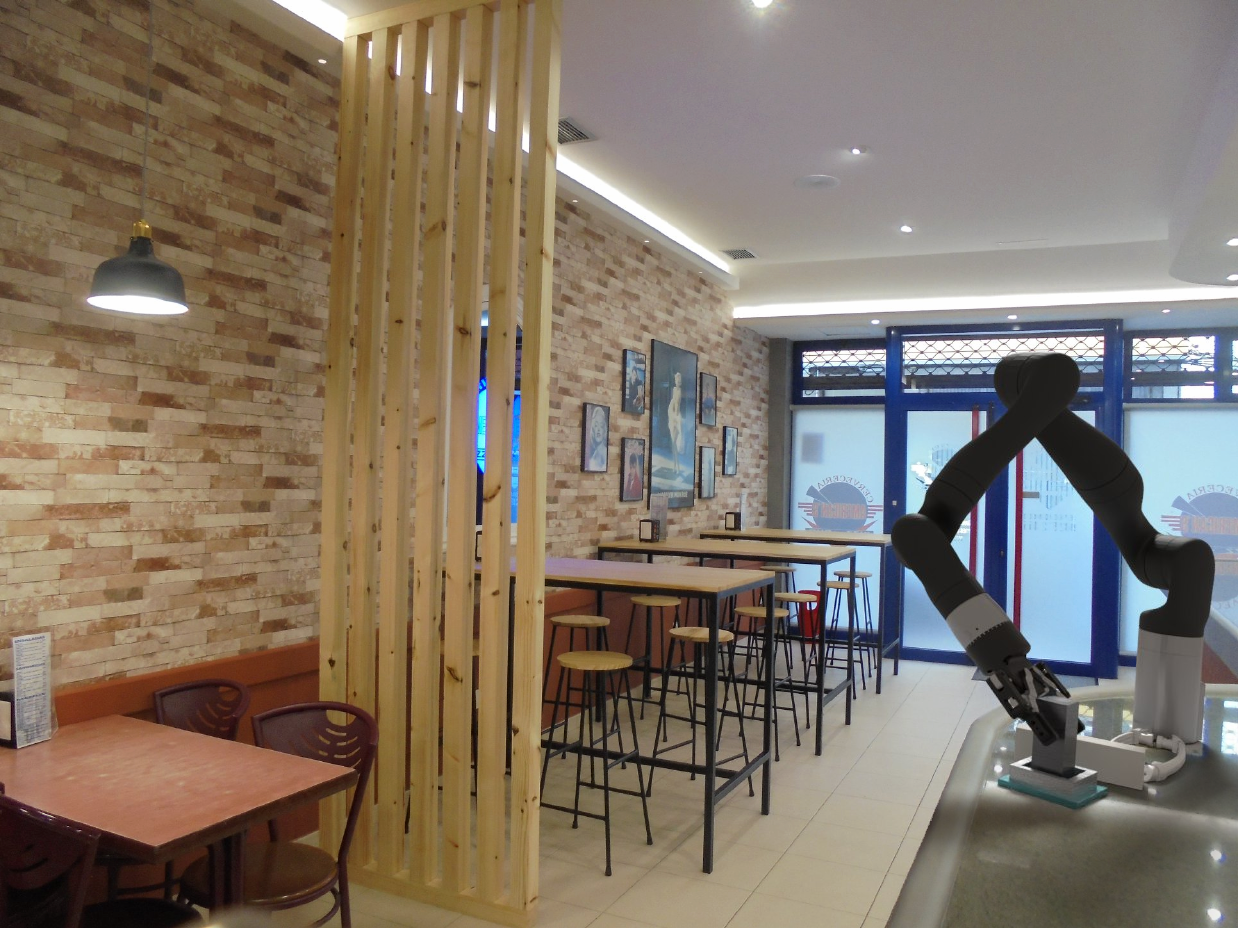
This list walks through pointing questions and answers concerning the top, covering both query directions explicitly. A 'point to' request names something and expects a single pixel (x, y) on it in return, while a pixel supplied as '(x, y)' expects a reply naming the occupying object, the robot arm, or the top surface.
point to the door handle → (1157, 769)
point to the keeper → (1054, 784)
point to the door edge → (1096, 757)
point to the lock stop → (1062, 751)
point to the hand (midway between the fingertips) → (1066, 737)
